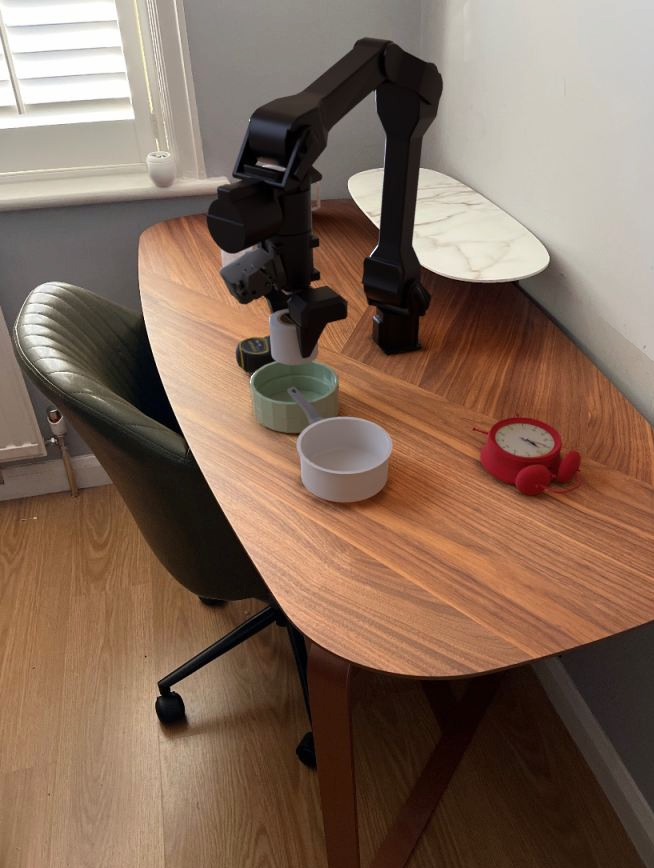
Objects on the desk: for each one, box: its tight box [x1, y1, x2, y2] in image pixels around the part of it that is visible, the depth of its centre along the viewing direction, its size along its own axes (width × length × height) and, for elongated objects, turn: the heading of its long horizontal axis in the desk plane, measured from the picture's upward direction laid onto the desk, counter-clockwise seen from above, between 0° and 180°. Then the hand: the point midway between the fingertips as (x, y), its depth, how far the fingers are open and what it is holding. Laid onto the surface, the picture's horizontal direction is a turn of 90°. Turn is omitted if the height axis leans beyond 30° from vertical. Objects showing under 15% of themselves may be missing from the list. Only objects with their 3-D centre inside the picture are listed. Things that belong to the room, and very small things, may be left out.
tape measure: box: [235, 335, 276, 374], centre depth 113 cm, size 7×7×4 cm
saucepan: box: [287, 387, 393, 503], centre depth 94 cm, size 12×20×6 cm, turn 31°
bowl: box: [249, 359, 340, 434], centre depth 103 cm, size 12×12×5 cm
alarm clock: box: [472, 412, 583, 496], centre depth 94 cm, size 10×6×15 cm
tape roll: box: [268, 309, 319, 365], centre depth 97 cm, size 6×6×5 cm
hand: (294, 346), depth 98 cm, fingers closed on tape roll, 6 cm apart
